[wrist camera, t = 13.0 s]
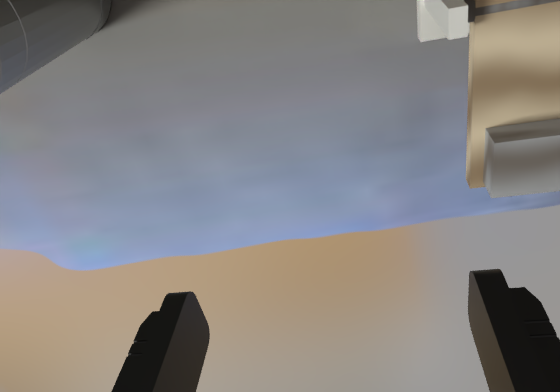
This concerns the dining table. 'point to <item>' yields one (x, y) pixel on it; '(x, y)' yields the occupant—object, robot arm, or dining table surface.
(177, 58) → the dining table surface
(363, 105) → the dining table surface
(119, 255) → the dining table surface
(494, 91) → the beam
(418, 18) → the pivot stand
